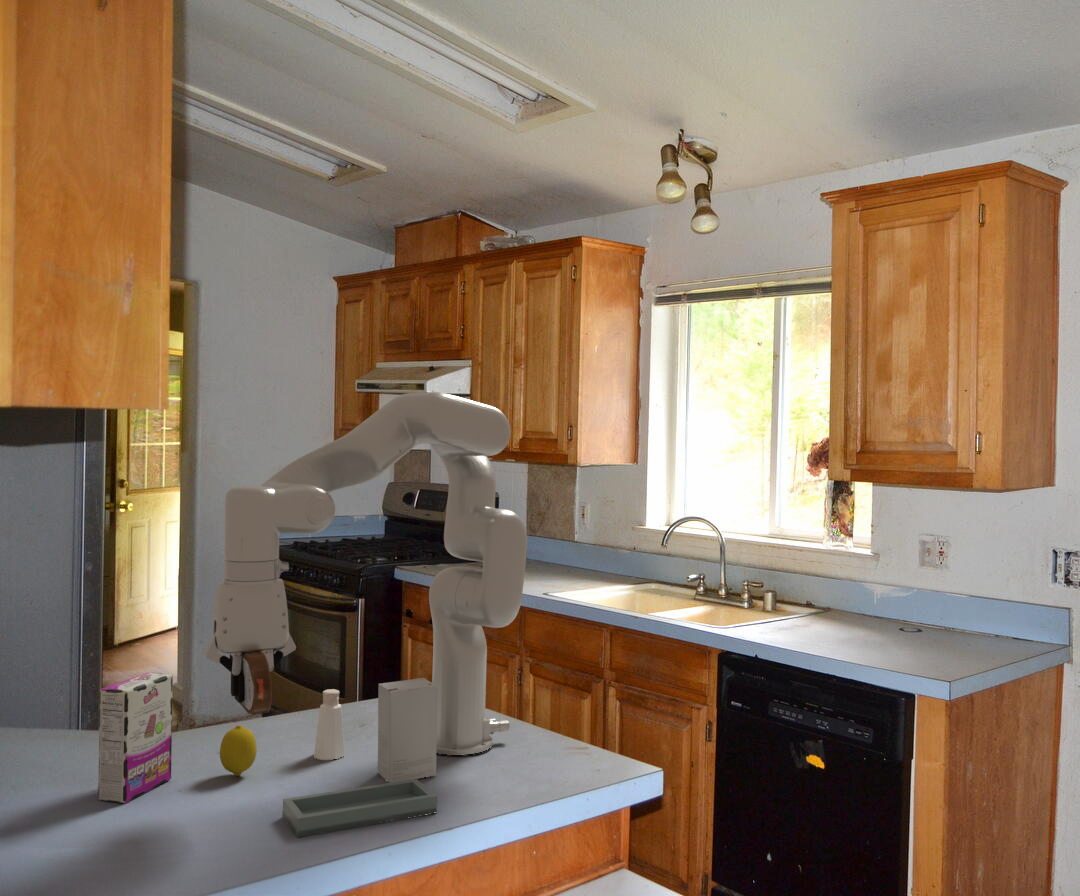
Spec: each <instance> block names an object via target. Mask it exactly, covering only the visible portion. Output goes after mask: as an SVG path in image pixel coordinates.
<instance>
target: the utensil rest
mask: <svg viewBox="0 0 1080 896" xmlns="http://www.w3.org/2000/svg"><path fill="white" fill-rule="evenodd" d="M437 808H438V795H436V794H435V792H433V791H432V790H430V789H429V788H428V787H426V785H424V784H423V783H421V781H420V780H419V779H412V780H406V781H399V782H393V783H388V782H385V783H380V784H374V785H368V786H361V787H355V788H348V789H342V790H341V789H339V790H334V791H327V792H322V793H321V792H320V793H315V794H314V793H313V794H309V795H308V794H307V795H302V796H296V797H289V798H282V813H281V814H282V815H281V816H282V817H281V818H282V819H283V820H284V819H285V820H284V821H285V822H287V823H288V824H287V823H286V824H287V825H288V827H289V826H290V827H289V828H290V829H291V831H292V830H293V831H292V832H293V834H294V835H295V836H296V837H297V838H303V837H309V836H314V835H319V834H325V833H332V832H336V831H337V830H338V831H343V830H349V828H350V829H354V827H355V828H359V827H360V826H361V827H366V826H365V825H367V826H372V825H371V824H373V825H377V824H376V823H379V824H381V823H380V822H384V823H387V822H386V821H390V822H392V821H391V820H396V821H398V820H397V819H402V820H405V819H404V818H407V819H409V818H408V817H413V818H415V817H414V816H419V815H425V814H429V813H434V812H437V811H438V809H437ZM425 816H426V815H425ZM419 817H420V816H419ZM331 831H332V832H331ZM338 831H337V832H338Z"/></svg>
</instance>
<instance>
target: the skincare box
mask: <svg viewBox="0 0 1080 896" xmlns="http://www.w3.org/2000/svg"><path fill="white" fill-rule="evenodd" d="M437 688H438V686H436V685H435V684H433V683H432V681H430V680H428V679H427V678H425V677H420V678H413V679H406V680H396V681H391V682H383V683H378V698H377V699H378V701H377V704H378V705H377V708H378V709H377V717H378V718H377V733H378V734H377V773H378V774H379V775H380V776H381V778H383V779H384V780H385V781H386V780H387V781H388V782H389V783H393V782H399V781H406V780H412V779H417V780H419V779H425V778H424V777H426V778H430V776H431V777H435V776H437V754H436V746H437ZM387 781H386V782H387ZM388 782H387V783H388Z"/></svg>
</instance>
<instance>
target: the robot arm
mask: <svg viewBox="0 0 1080 896" xmlns="http://www.w3.org/2000/svg"><path fill="white" fill-rule="evenodd" d="M510 438H511V425H510V422H509V420H508V418H507V417H506V415H505V414H504V413H503V412H502V410H500V409H499V408H496V407H495V406H492V405H489V404H486V403H485V404H484V403H482V402H478V401H474V400H472V399H467V398H464V397H460V396H457V395H453V394H451V393H450V394H448V393H445V392H438V391H437V392H436V391H434V392H433V391H429V392H410V393H404V394H400V395H398V396H395V397H394V398H392V399H391V400H389V401H388V402H386V404H384V405H383V406H381V407H380V408H379V409H378V410H376V411H375V412H374V413H373V414H371V415H370V416H369V417H368V418H366V419H365V420H364V421H362V422H361V423H360V424H358V425H357V426H356V427H354V428H353V429H352V430H350V431H349V432H348V433H347V434H345V435H343V436H341V437H339V438H337V439H336V440H333V441H331V442H328V443H326V444H324V445H323V446H321V447H319V448H317V449H315V450H313V451H311V452H308V453H307V454H305V455H302V456H301V457H299V458H297V459H295V460H293V461H291V462H290V463H288V464H287V465H286V466H284V467H283V468H281V469H280V470H279V471H277V472H276V473H275V474H274V475H272V476H270V478H268V479H267V480H266V481H265V482H264V483H262V484H261V485H260V486H259V485H258V486H257V485H253V486H251V485H249V486H248V485H246V486H245V485H244V486H235V487H232V488H230V489H228V490H227V492H226V494H225V498H224V499H225V501H224V580H221V581H219V582H218V584H217V588H216V593H215V599H214V605H213V609H214V610H213V618H212V619H213V620H212V632H211V633H212V634H211V640H210V641H209V644H208V646H207V647H206V649H205V652H204V653H203V654H204V657H205V658H206V659H207V660H209V661H212V662H215V663H218V664H220V665H222V666H223V667H224V668H225V669H227V670H228V671H229V672H230V695H231V697H234V699H235V700H236V702H237V703H239V704H240V703H242V702H243V701H244V675H243V674H242V670H241V659H242V653H243V652H254V651H261V652H262V653H264V654H265V656H266V658H267V661H268V664H269V668H270V674H272V673H271V672H272V671H273V670H274V668H275V667H276V665H277V664H279V662H281V660H282V659H283V658H284V657H286V656H288V655H289V654H291V653H292V652H294V651H296V649H297V645H296V644H295V643H296V642H294V639H293V637H292V636H291V634H290V631H289V627H290V626H289V625H290V624H289V614H288V612H289V611H288V602H287V601H288V600H287V594H286V589H285V584H284V583H285V582H284V580H283V579H282V578H280V577H281V574H282V573H284V572H288V571H289V570H290V569H289V568H290V565H289V562H288V561H281V559H280V535H281V534H290V535H291V534H293V535H303V536H306V535H308V536H309V535H315V534H318V533H321V532H322V531H324V530H325V529H327V527H329V526H330V524H331V523H332V522H333V520H334V518H335V514H336V506H335V505H336V504H335V501H334V499H333V497H332V495H331V494H330V493H331V492H333V491H337V490H341V489H344V488H347V487H349V488H350V487H354V486H357V485H361V484H364V483H368V482H371V481H373V480H375V479H377V478H379V477H380V476H382V475H383V474H384V473H385V472H386V471H387V470H389V469H390V468H391V467H393V465H394V464H396V463H397V462H398V461H399V460H401V459H402V457H404V456H405V455H406V454H408V453H409V452H410V451H412V450H413V449H414V448H415V447H417V446H418V445H421V444H429V445H430V447H431V448H432V449H433V451H435V453H436V454H437V455H438V457H439V458H440V459H441V461H442V463H443V465H444V466H445V470H446V472H447V477H448V491H447V493H448V494H447V502H446V503H447V504H446V509H445V510H446V511H445V512H446V513H445V519H444V531H443V542H444V548H445V550H446V551H447V553H449V554H450V555H451V556H453V557H454V558H458V559H461V560H467V561H475V562H481V563H482V569H480V568H474V567H465V566H451V567H446V568H444V569H442V570H441V571H439V572H438V573H437V574H436V575H435V576H434V577H433V579H432V581H431V583H430V586H429V589H428V602H429V609H430V614H431V621H432V632H433V633H432V637H433V640H432V642H433V643H432V645H433V646H432V649H433V651H432V652H433V653H432V673H431V674H432V679H431V683H433V684H435V685H436V686H438V688H437V746H436V753H439V754H438V755H441V754H447V755H446V756H451V755H461V754H473V753H479V752H482V751H485V750H487V751H489V750H490V749H491V748H493V746H492V745H494V739H493V737H492V735H494V733H496V732H497V733H500V732H508V731H509V730H510V726H511V725H510V722H509V720H508V719H503V720H498V721H497V719H496V718H490V719H488V718H486V692H487V691H486V689H487V688H486V686H487V659H488V658H487V655H488V650H487V649H488V648H487V647H488V646H487V639H486V635H485V631H484V629H483V627H487V628H494V629H498V628H504V627H507V626H509V625H510V624H512V623H513V621H514V620H515V619H516V617H517V616H518V614H519V610H520V608H521V603H522V598H523V592H524V582H525V573H526V572H525V571H526V564H527V561H526V560H527V552H528V535H527V533H528V532H527V529H526V527H525V523H524V521H523V520H522V518H521V517H520V516H519V515H518V514H517V513H516V512H514V511H512V510H510V509H505V508H496V490H497V489H496V488H497V480H496V474H495V470H494V467H493V465H492V462H491V461H490V459H489V458H488V457H491V456H495V455H498V454H500V453H501V452H503V450H504V449H505V448H506V447H507V446H508V444H509V441H510ZM218 651H219V652H218ZM226 654H228V656H227V655H226ZM489 748H490V749H489ZM488 749H489V750H488ZM485 752H486V751H485ZM482 753H483V752H482ZM479 754H480V753H479ZM473 755H474V754H473Z"/></svg>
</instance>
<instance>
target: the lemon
mask: <svg viewBox="0 0 1080 896" xmlns="http://www.w3.org/2000/svg"><path fill="white" fill-rule="evenodd" d="M257 749H258V748H257V741H256V738H255V735H254V733H253V732H252V731H251V730H250V729H249V728H246V727H245V726H242V725H241V724H237V725H236V726H235V727H233V728H231V729H230V730H228V731H227V732H226V733H225V734H224V736H223V738H222V739H221V742H220V748H219V759H220V763H221V765H222V767H223V768H224V769H225V770H226V771H227V772H229V773H232V774H233V775H234V776H235V777H239V776H241V775H242V774H243V773H244V772H245V771H248V770H249V769H250V768H251V767H252V766H253V764H254V762H255V760H256V756H257Z"/></svg>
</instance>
